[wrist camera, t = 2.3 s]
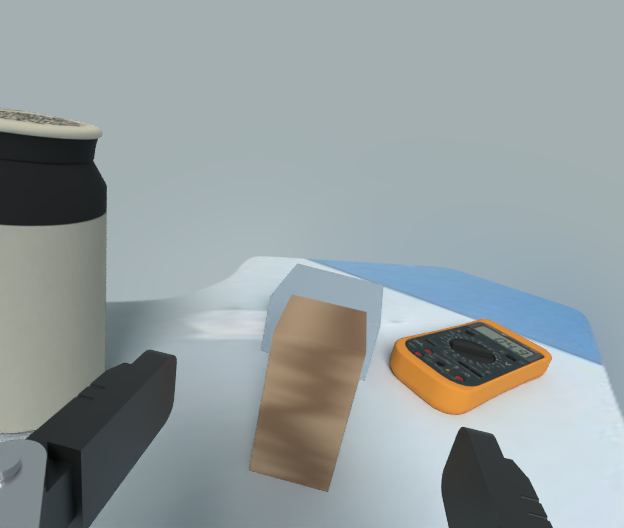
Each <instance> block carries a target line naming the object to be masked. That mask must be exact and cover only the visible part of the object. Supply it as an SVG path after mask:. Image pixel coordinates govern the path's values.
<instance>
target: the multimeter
mask: <svg viewBox="0 0 624 528" xmlns="http://www.w3.org/2000/svg"><path fill="white" fill-rule="evenodd" d="M551 359H552V356H551V355H550V353H549V352H548V351H547V350H545V349H544V348H542V347H540V346H538V345H536V344H535V343H533V342H531V341H529V340H527V339H525V338H523V337H522V336H520V335H518V334H516V333H514V332H512V331H510V330H508V329H507V328H505V327H503V326H501V325H499V324H497V323H495V322H493V321H491V320H488V319H480V320H477V321H473V322H470V323H466V324H463V325H458V326H454V327H450V328H446V329H442V330H438V331H433V332H428V333H423V334H419V335H414V336H409V337H404V338H401V339H399V340H397V341H396V342H395V345H394V348H393V351H392V354H391V359H390V367H391V369H392V371H393V373H394V375H395V376H396V377H397V378H398V379H399V380H400V381H401V382H403V383H404V384H405V385H406V386H407V387H409V388H410V389H411V390H412V391H413V392H415V393H416V394H417V395H418V396H419V397H421V398H422V399H423V400H424V401H425V402H427V403H428V404H429V405H431V406H432V407H434V408H435V409H437V410H439V411H441V412H444V413H448V414H454V415H458V414H463V413H465V412H468V411H470V410H472V409H473V408H475V407H477V406H479V405H481V404H483V403H484V402H486V401H488V400H490V399H492V398H494V397H495V396H497V395H499V394H501V393H503V392H506V391H508V390H510V389H512V388H514V387H516V386H518V385H520V384H522V383H525V382H527V381H530V380H532V379H535V378H538V377H540V376H542V375H543V374H544V373H545V372H546V370H547V368H548V366H549V364H550V361H551Z"/></svg>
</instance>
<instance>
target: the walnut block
mask: <svg viewBox="0 0 624 528" xmlns="http://www.w3.org/2000/svg"><path fill="white" fill-rule="evenodd" d="M366 332H367V312H365V311H360V310H356V309H352V308H348V307H343V306H339V305H335V304H331V303H327V302H322V301H318V300H314V299H310V298H305V297H301V296H297V295H293V294H292V295H291V297H290V299H289V301H288V303H287V305H286V307H285V309H284V311H283V313H282V315H281V317H280V319H279V321H278V323H277V325H276V327H275V329H274V332H273V338H272V343H271V349H270V354H269V360H268V366H267V371H266V377H265V383H264V388H263V394H262V400H261V405H260V411H259V417H258V422H257V428H256V434H255V439H254V445H253V451H252V456H251V462H250V468H249V470H250V471H253V472H257V473H261V474H264V475H268V476H271V477H275V478H279V479H282V480H286V481H290V482H293V483H297V484H301V485H304V486H308V487H312V488H315V489H319V490H322V491H326V492H328V489H329V486H330V482H331V478H332V475H333V471H334V468H335V464H336V460H337V457H338V453H339V450H340V446H341V442H342V439H343V435H344V432H345V428H346V424H347V421H348V417H349V414H350V410H351V406H352V403H353V399H354V396H355V392H356V388H357V385H358V381H359V378H360V374H361V370H362V367H363V363H364V360H365V356H366Z"/></svg>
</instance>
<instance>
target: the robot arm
mask: <svg viewBox="0 0 624 528" xmlns="http://www.w3.org/2000/svg"><path fill="white" fill-rule="evenodd" d="M176 365H177V359H176V356H174V355H171V354H167V353H162V352H158V351H154V350H150V349H149V350H147V351H145V352H144V353H143V354H142V355H141V356H140V357H139V358H138V359H136V360H135V361H134V362H133V363H132V364H128V363H122V364H120V365H118V366H116V367H113V368H111V369H109V370H107V371H105V372H104V373H102V374H101V375H100V376H99V377H98V378H97V379H95V380H94V381H93V382H92V383H91V384H90V386H89V387H88V386H87V387H86V388H85V389H84V390H83V391H81V392H80V393H79V394H78V396H77V397H74V398H73V399H72V400H71V401H70V402H68V403H67V404H66V405H65V406H64V407H63V408H61V409H60V410H59V411H58V412H57V413H56V414H54V415H53V416H52V417H51V418H50V419H49V420H47V421H46V422H45V423H44V424H43V425H41V426H40V427H39V428H38V429H37V430H36V431H34V432H33V433H32V434H31V435H30V436H29V437H27V438H26V439H25V440H24V439H21V440H11V441H6V442H2V443H0V528H89V526H90V525H91V524H92V522H93V521H94V519H95V518H96V517H97V515H98V514H99V513H100V511H101V510H102V509H103V507H104V506H105V504H106V503H107V502H108V500H109V499H110V498H111V496H112V495H113V494H114V492H115V491H116V489H117V488H118V487H119V485H120V484H121V483H122V481H123V480H124V479H125V477H126V476H127V474H128V473H129V472H130V470H131V469H132V468H133V466H134V465H135V464H136V462H137V461H138V460H139V458H140V457H141V455H142V454H143V453H144V451H145V450H146V449H147V447H148V446H149V445H150V443H151V442H152V440H153V439H154V438H155V436H156V435H157V434H158V432H159V431H160V430H161V428H162V427H163V425H164V424H165V423H166V421H167V419H168V417H169V415H170V413H171V410H172V407H173V402H174V392H175V379H176ZM441 490H442V498H443V503H444V507H445V512H446V517H447V521H448V526H449V528H553V527H552V525H551V523H550V521H548V520H547V515H546V513H545V511H544V509H543V507H542V505H541V503H539V498H538V496H537V494H536V492H535V490H534V488H533V486H532V484H531V482H530V480H529V478H528V477H527V476H526V475H525V474H524V473H523V472H522V470H521V469H520V468H519V467H518V466H517V465H516V464H515V462H514V461H513V460H511V459H507V458H504V456H503V454H502V452H501V450H500V447H499V445H498V443H497V441H496V438H495V437H494V435H493V434H490V433H486V432H482V431H478V430H474V429H470V428H466V427H461V428H460V429H459V431H458V433H457V436H456V438H455V441H454V444H453V446H452V449H451V452H450V454H449V457H448V459H447V462H446V465H445V467H444V470H443V474H442V483H441Z"/></svg>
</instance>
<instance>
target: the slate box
mask: <svg viewBox="0 0 624 528" xmlns="http://www.w3.org/2000/svg"><path fill="white" fill-rule="evenodd" d="M292 294H293V295H297V296H301V297H305V298H310V299H314V300H318V301H322V302H327V303H331V304H335V305H339V306H343V307H348V308H352V309H356V310H360V311H365V312H367V332H366V356H365V360H364V363H363V367H362V370H361V374H360V378H359V379H360V380H364V381H365V377H366V374H367V370H368V367H369V363H370V360H371V356H372V353H373V349H374V346H375V342H376V339H377V335H378V332H379V328H380V322H381V309H382V296H383V285H380V284H376V283H372V282H368V281H364V280H360V279H356V278H352V277H348V276H344V275H340V274H336V273H332V272H328V271H324V270H320V269H316V268H313V267H309V266H305V265H301V264H297V265H296V266H295V267H294V268H293V269H292V271H291V272H290V273H289V274H288V275H287V277H286V278H285V279H284V280H283V281H282V283H281V284H280V285H279V286H278V287H277V289H276V290H275V291H274V292H273V293H272V295H271V296H270V301H269V307H268V313H267V319H266V325H265V331H264V337H263V343H262V349H261V351H264V352H267V353H270V349H271V343H272V338H273V332H274V329H275V327H276V325H277V323H278V321H279V319H280V317H281V315H282V313H283V311H284V309H285V307H286V305H287V303H288V301H289V299H290V297H291V295H292Z"/></svg>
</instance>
